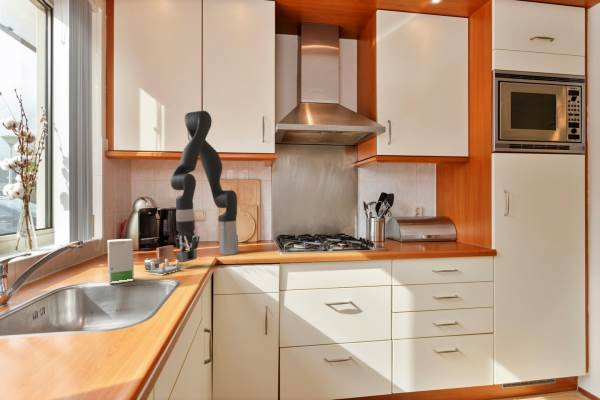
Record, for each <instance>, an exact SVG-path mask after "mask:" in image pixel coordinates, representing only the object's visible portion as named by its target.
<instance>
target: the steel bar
mask: <svg viewBox="0 0 600 400" xmlns="http://www.w3.org/2000/svg"><path fill="white" fill-rule="evenodd" d="M185 250H186V251H182V252H181V251H178V252H176V260H179V263H185V262H190V261H194V260H197V259H198V257H197V255H198V254H197V249H195V250H194V258H193V259H191V260H189V258H188V249H185Z"/></svg>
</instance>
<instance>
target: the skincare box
mask: <svg viewBox="0 0 600 400" xmlns="http://www.w3.org/2000/svg"><path fill="white" fill-rule="evenodd" d="M106 242H107V244H106V245H107V281H108V280H109V282H112V281H119V280H127V279H134V280H135V277H134V276H135V272H134V240H133V239H132V238H125V239H124V238H120V239H119V238H118V239H108V240H107V241H106ZM109 282H108V283H109Z"/></svg>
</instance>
